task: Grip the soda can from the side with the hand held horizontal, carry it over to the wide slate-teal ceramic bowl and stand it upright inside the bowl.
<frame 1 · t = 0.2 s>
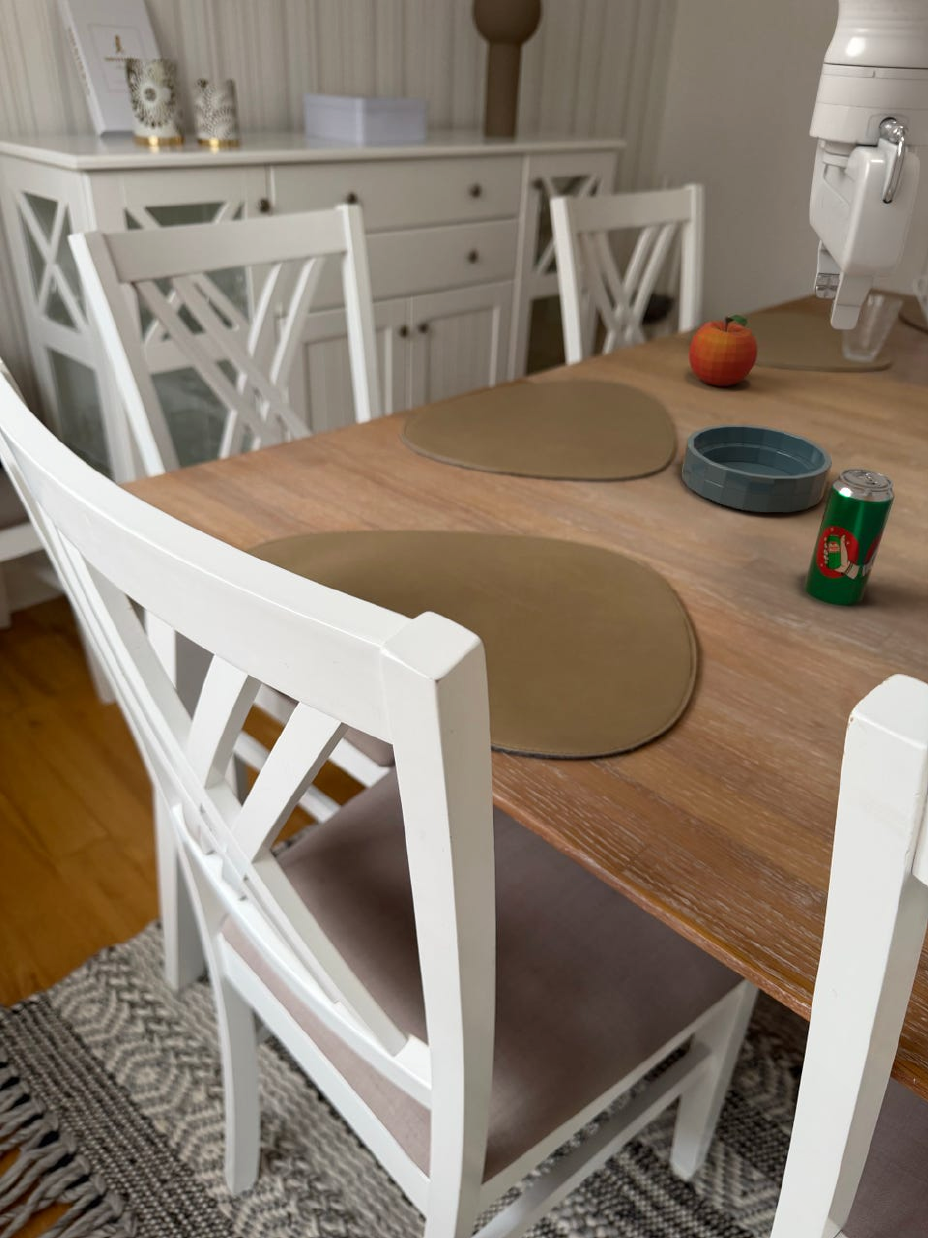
hand: (832, 310, 75), 25 cm above the table, tool pointing down, fingers open, 8 cm apart
soda can: (829, 602, 86), on the table
bowl: (750, 487, 106), on the table
fruit: (716, 382, 139), on the table
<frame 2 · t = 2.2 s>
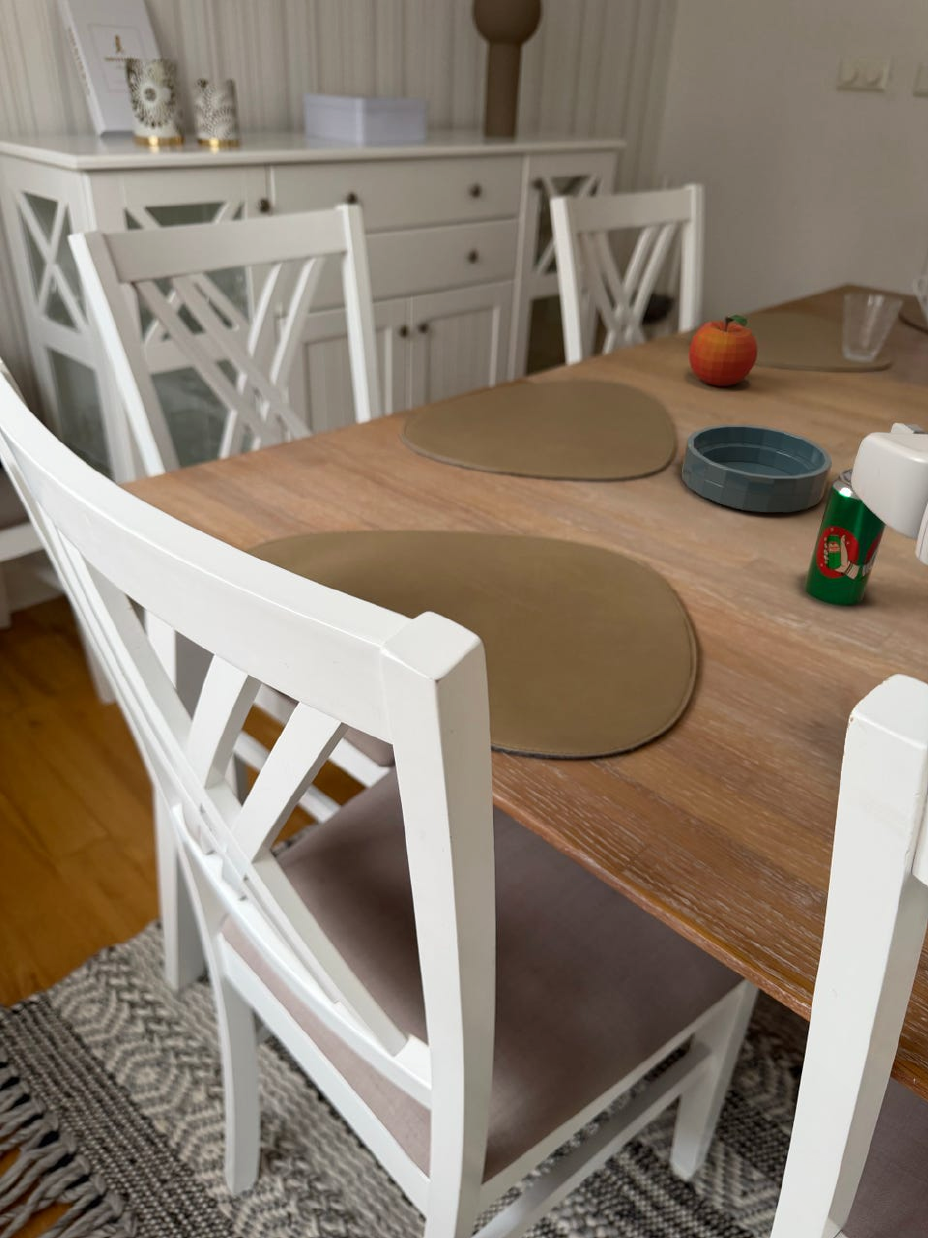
nothing on the table moved.
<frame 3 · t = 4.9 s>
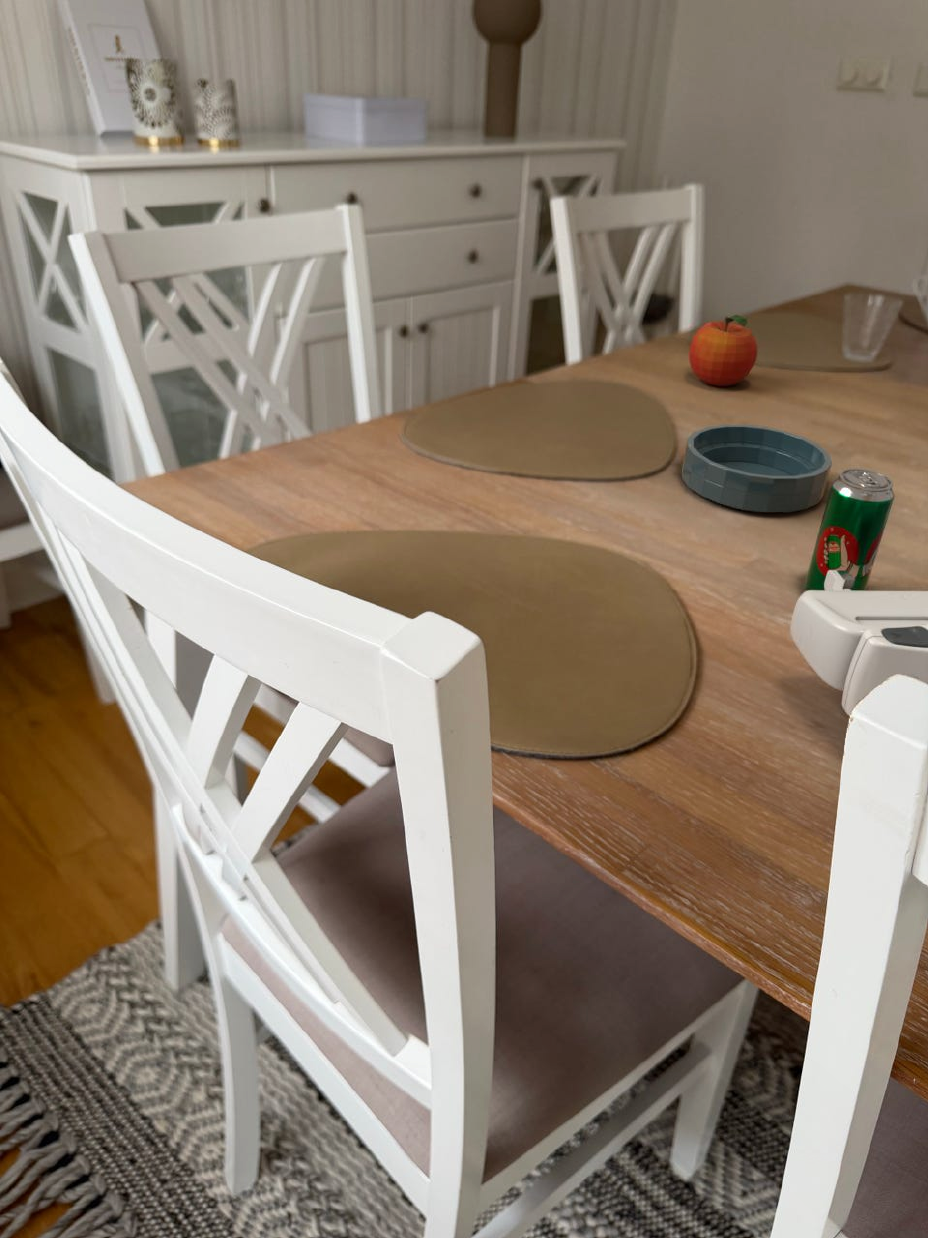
hand: (892, 578, 75), 7 cm above the table, tool horizontal, fingers open, 8 cm apart
nothing on the table moved.
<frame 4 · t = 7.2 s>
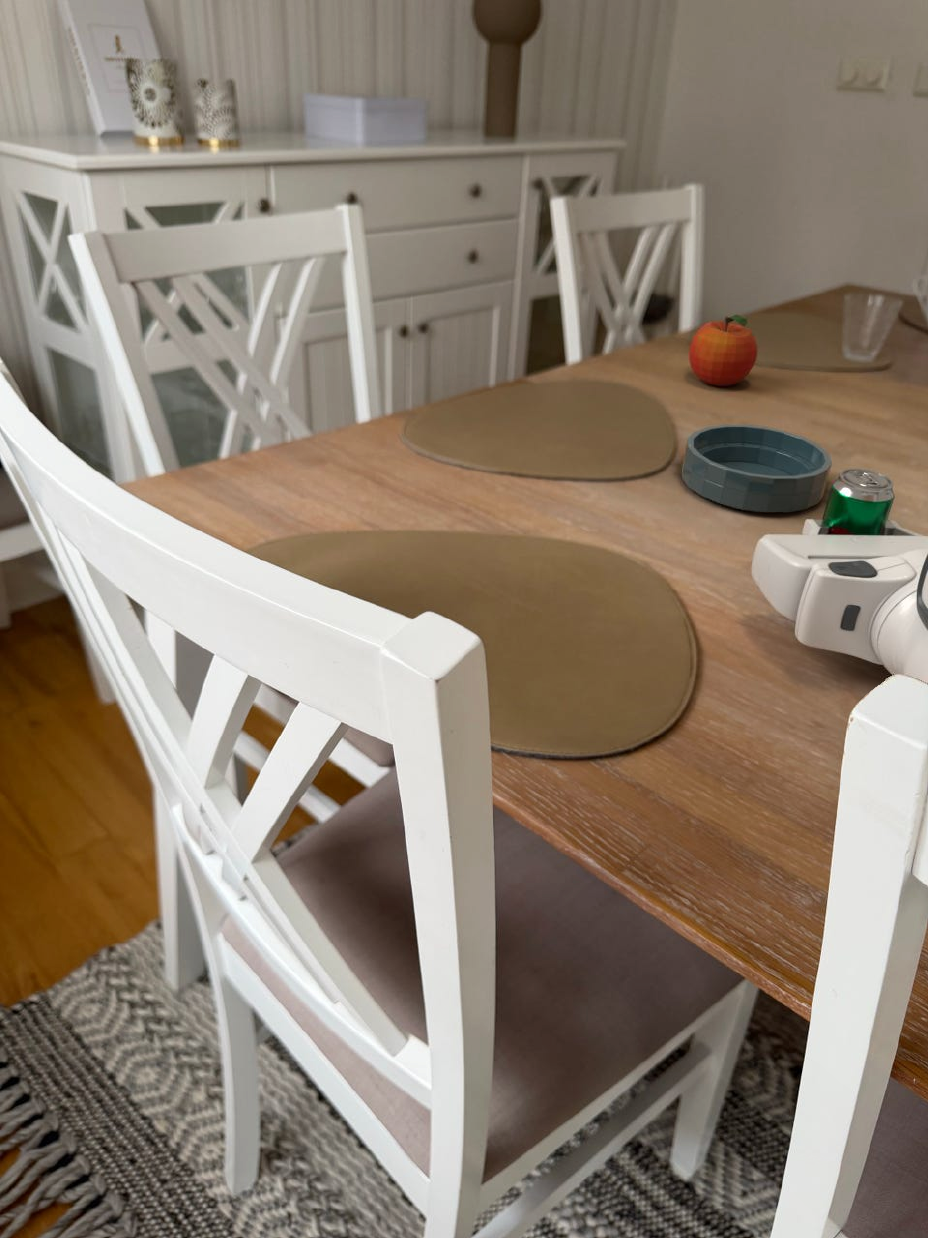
hand: (846, 527, 83), 7 cm above the table, tool horizontal, fingers closed on soda can, 5 cm apart
soda can: (829, 602, 86), on the table, touching gripper
everything else where it was.
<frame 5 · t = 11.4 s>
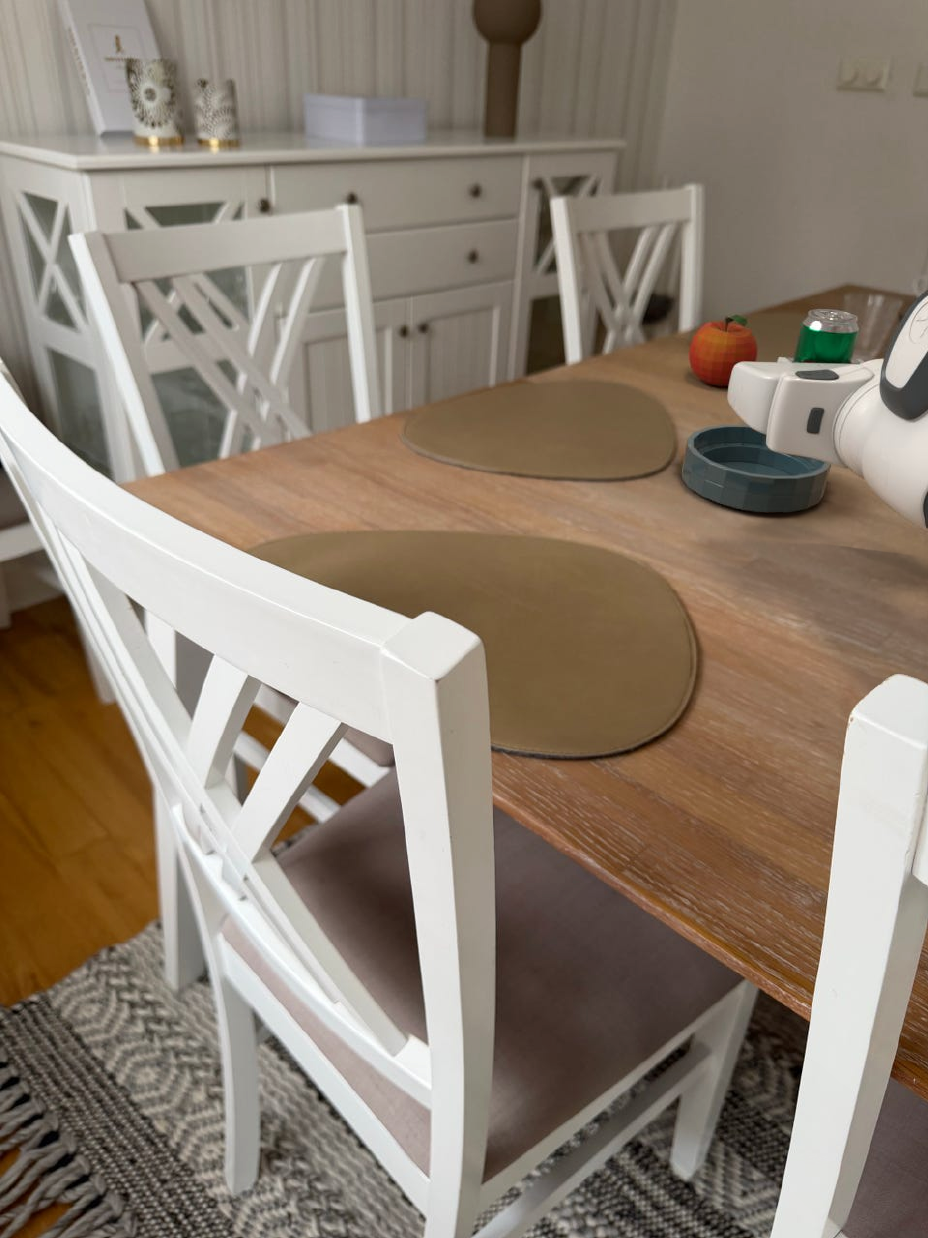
hand: (815, 365, 89), 17 cm above the table, tool horizontal, fingers closed on soda can, 5 cm apart
soda can: (802, 441, 92), point 10 cm above the table, touching gripper
everything else where it was.
when the fingers open (8 cm above the table, at t = 15.9 s): soda can stays where it is, resting on bowl.
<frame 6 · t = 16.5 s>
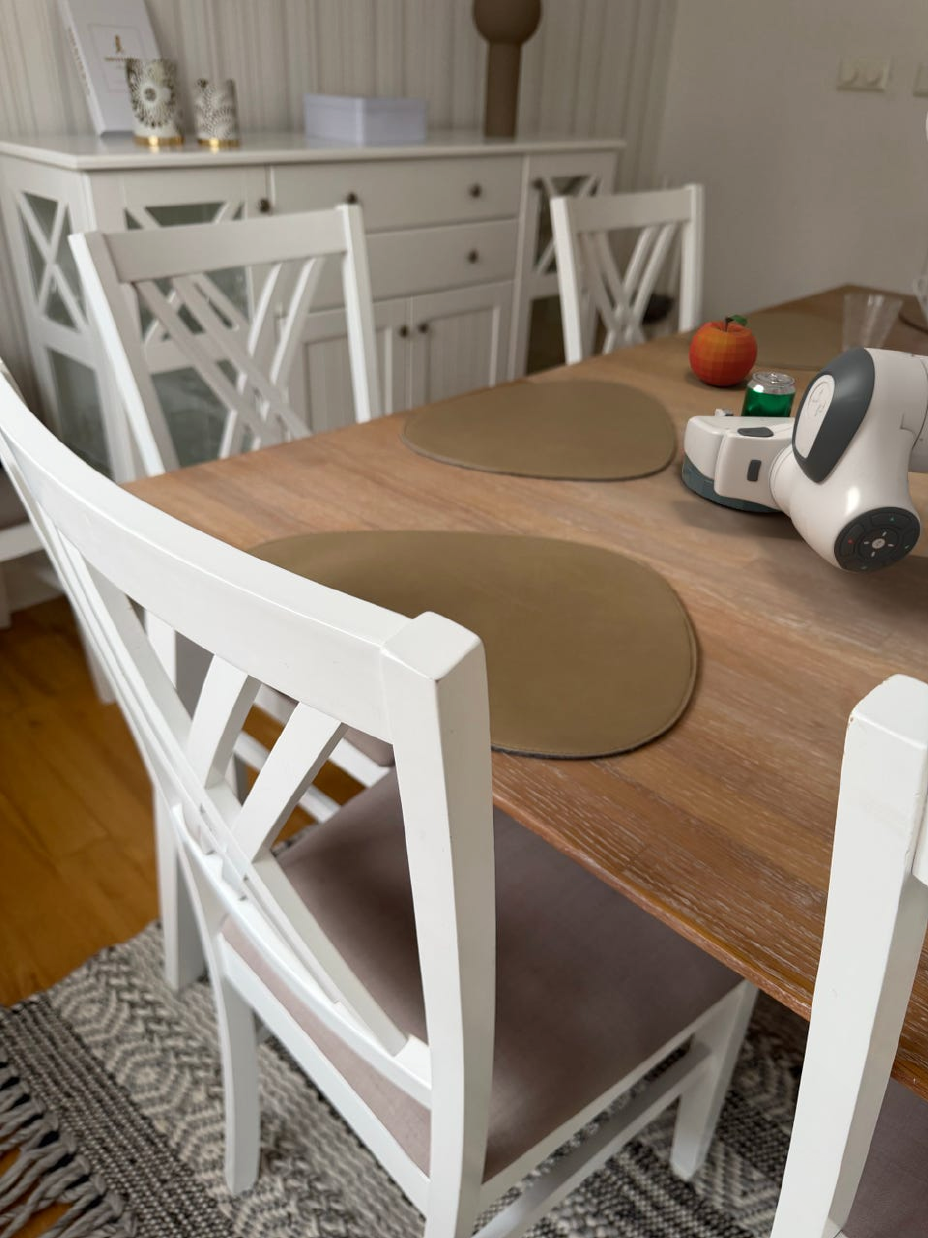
hand: (763, 416, 103), 8 cm above the table, tool horizontal, fingers open, 8 cm apart
soda can: (750, 484, 106), resting on bowl
everything else where it was.
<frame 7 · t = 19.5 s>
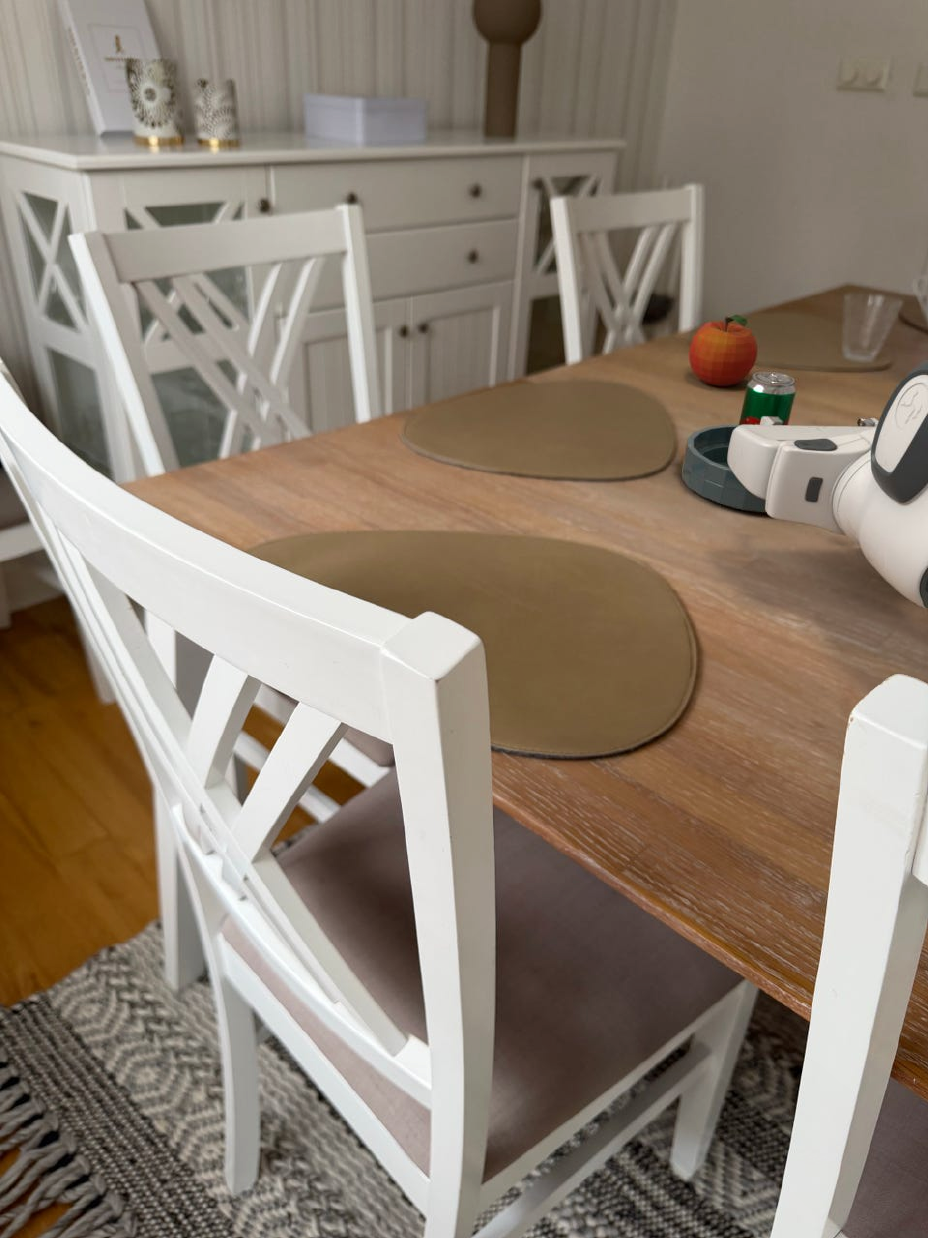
hand: (815, 424, 90), 12 cm above the table, tool horizontal, fingers open, 8 cm apart
nothing on the table moved.
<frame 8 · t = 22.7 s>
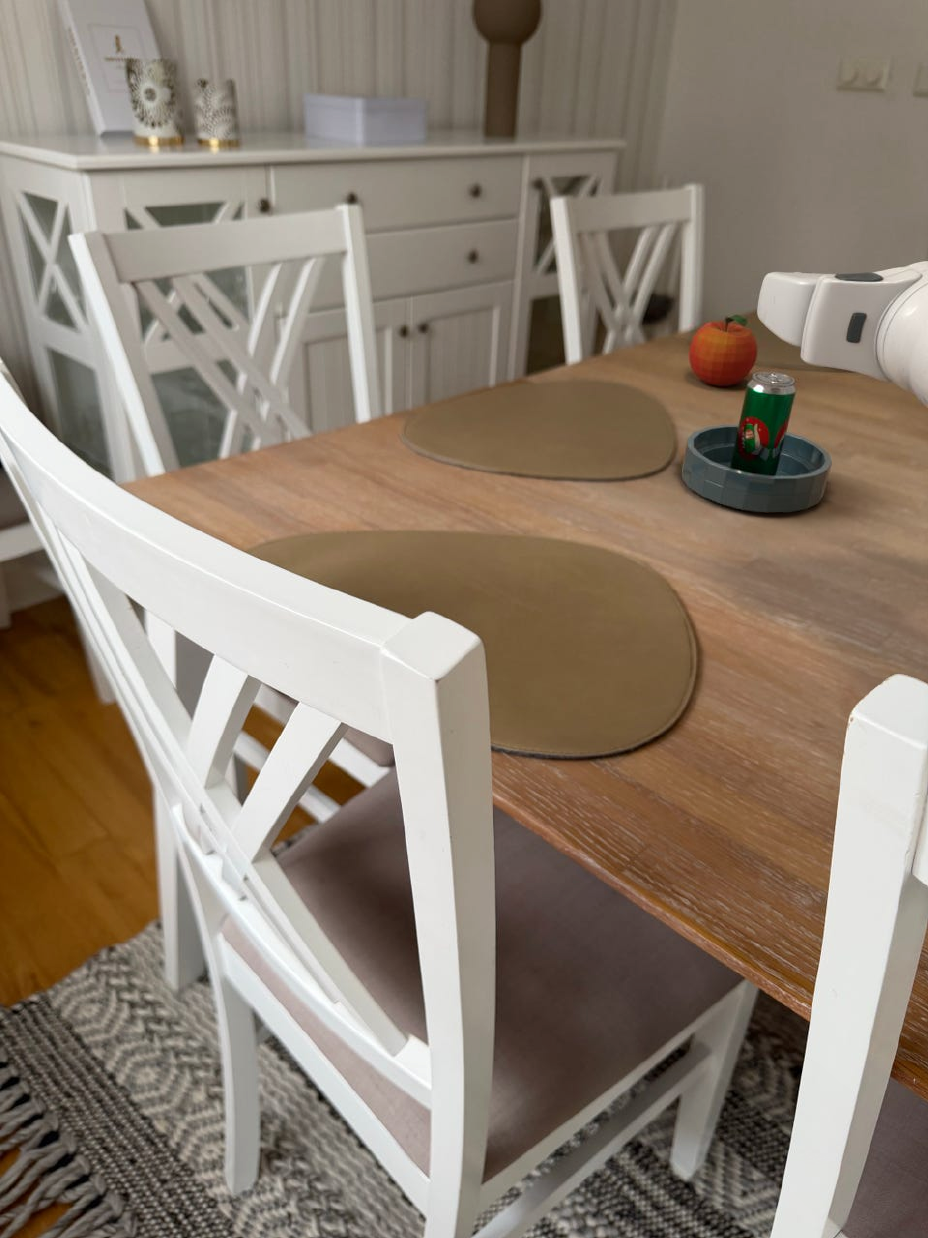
hand: (851, 283, 83), 25 cm above the table, tool horizontal, fingers open, 8 cm apart
nothing on the table moved.
at the end: soda can inside the target area in the bowl (0.1 cm from its centre), point 0.4 cm above the bowl's base; soda can tilted 0°; the gripper is holding nothing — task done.
